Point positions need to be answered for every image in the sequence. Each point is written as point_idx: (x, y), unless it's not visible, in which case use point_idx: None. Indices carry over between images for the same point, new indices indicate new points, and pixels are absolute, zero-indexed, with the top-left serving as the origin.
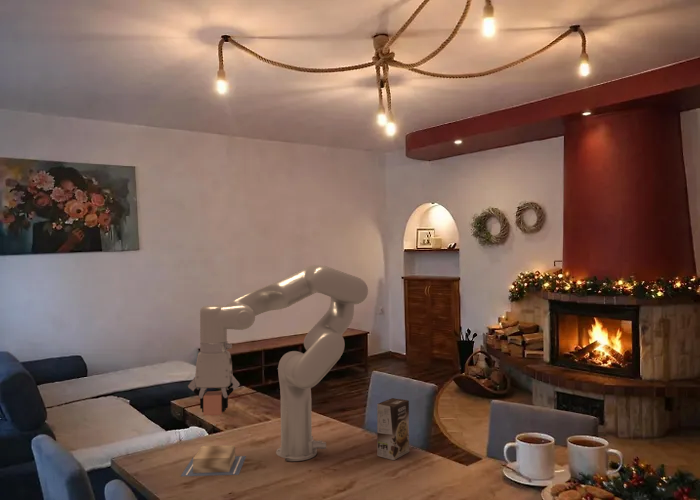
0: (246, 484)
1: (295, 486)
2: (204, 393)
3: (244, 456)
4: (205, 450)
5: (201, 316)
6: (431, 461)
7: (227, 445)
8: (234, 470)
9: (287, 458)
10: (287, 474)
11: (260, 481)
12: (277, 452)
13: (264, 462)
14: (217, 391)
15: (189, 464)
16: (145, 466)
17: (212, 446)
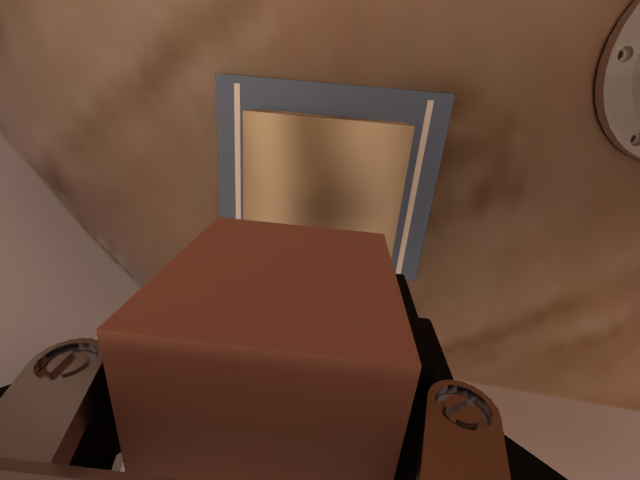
0: (435, 320)
1: (579, 357)
2: (92, 394)
3: (446, 99)
4: (276, 178)
5: None
6: None
7: (376, 122)
8: (400, 248)
9: (634, 155)
10: (582, 273)
11: (480, 308)
12: (612, 77)
13: (524, 145)
14: (290, 357)
15: (223, 158)
16: (51, 109)
17: (300, 125)
